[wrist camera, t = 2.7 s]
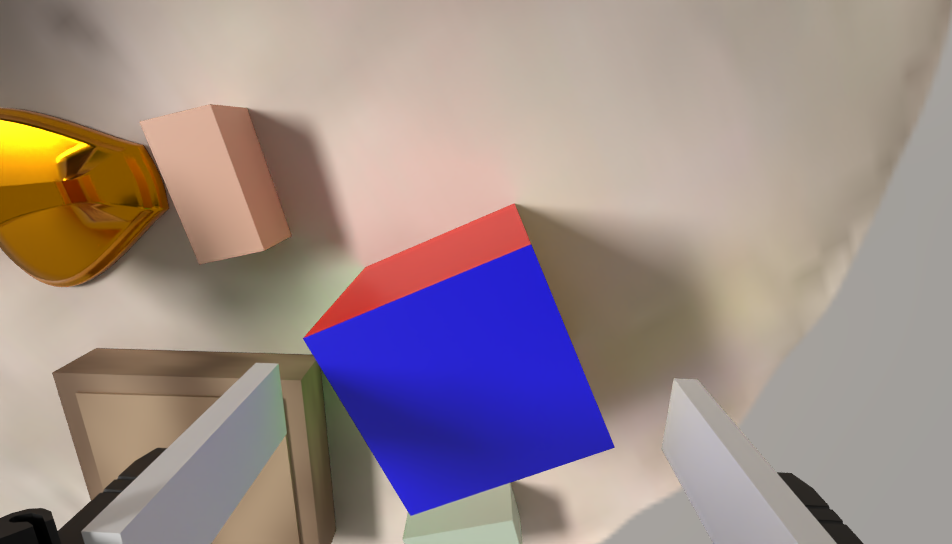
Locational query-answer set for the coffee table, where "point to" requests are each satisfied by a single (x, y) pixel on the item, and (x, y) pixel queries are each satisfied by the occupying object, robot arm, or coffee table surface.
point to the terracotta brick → (217, 181)
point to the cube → (459, 365)
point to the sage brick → (469, 521)
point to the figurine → (72, 197)
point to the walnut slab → (179, 405)
